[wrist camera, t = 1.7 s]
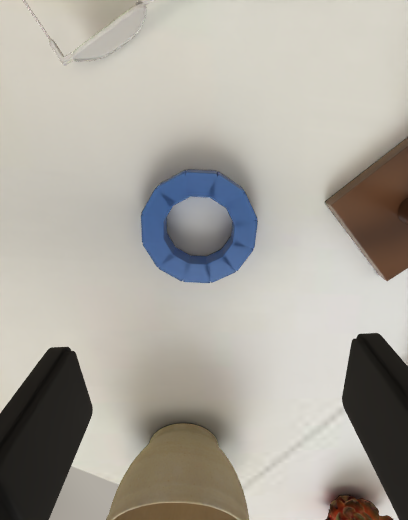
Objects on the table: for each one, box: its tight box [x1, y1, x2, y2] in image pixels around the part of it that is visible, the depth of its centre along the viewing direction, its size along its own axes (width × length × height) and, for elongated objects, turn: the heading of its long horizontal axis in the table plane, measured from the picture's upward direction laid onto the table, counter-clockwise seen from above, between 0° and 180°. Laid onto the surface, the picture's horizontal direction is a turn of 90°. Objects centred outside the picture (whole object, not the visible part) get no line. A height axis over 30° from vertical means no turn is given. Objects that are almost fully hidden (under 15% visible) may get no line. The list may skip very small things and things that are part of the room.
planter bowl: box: [106, 423, 249, 520], centre depth 35 cm, size 16×16×11 cm
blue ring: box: [141, 169, 258, 283], centre depth 26 cm, size 10×10×2 cm
